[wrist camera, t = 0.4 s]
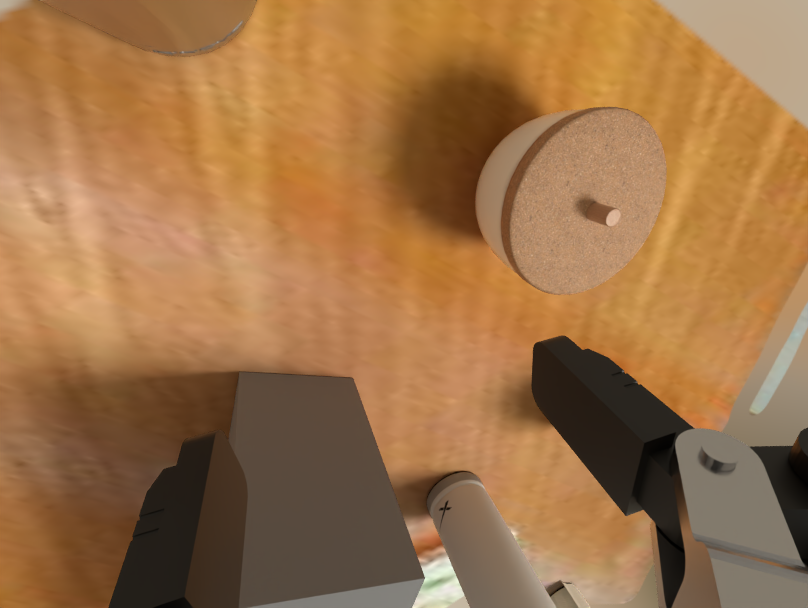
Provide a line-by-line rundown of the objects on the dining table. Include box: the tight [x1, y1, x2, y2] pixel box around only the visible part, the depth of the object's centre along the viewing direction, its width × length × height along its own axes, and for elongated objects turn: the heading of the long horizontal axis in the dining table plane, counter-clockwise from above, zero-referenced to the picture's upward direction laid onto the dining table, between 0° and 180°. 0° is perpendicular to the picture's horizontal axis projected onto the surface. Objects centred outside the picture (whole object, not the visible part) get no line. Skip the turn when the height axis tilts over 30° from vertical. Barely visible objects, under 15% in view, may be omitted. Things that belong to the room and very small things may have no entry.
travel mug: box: [427, 472, 556, 608], centre depth 34 cm, size 6×7×20 cm
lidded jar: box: [475, 107, 666, 295], centre depth 26 cm, size 11×11×9 cm
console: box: [228, 372, 425, 608], centre depth 28 cm, size 24×8×16 cm, turn 163°
